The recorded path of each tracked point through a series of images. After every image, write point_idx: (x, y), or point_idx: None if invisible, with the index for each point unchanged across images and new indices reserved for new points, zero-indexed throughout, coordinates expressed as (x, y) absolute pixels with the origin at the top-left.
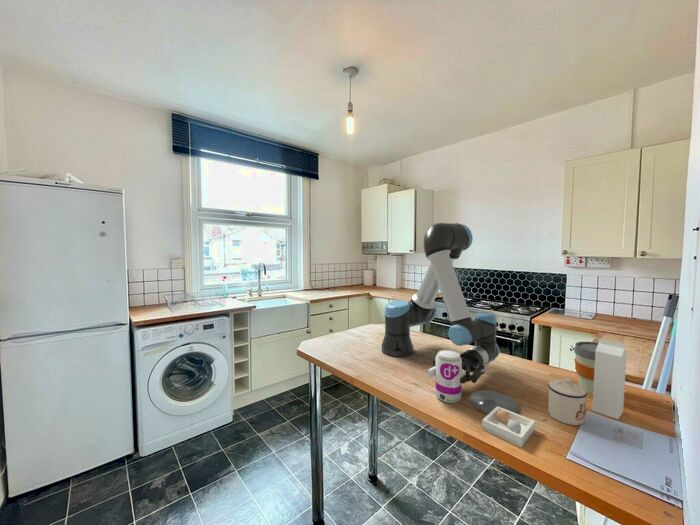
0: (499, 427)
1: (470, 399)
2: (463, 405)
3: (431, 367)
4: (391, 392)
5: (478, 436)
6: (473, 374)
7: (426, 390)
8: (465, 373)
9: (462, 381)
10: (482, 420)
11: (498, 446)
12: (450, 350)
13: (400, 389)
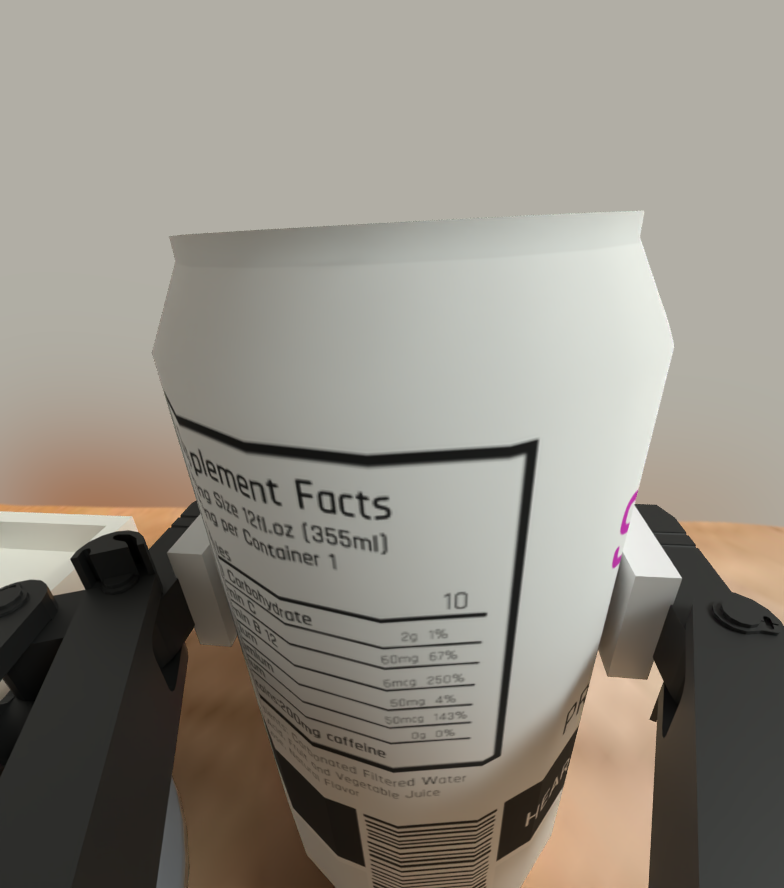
0: (51, 513)
1: (181, 834)
2: (257, 707)
3: (663, 511)
4: (726, 538)
5: (176, 513)
6: (10, 595)
7: (650, 726)
8: (155, 573)
9: None
10: (132, 519)
11: (100, 510)
12: (491, 224)
13: (756, 595)
